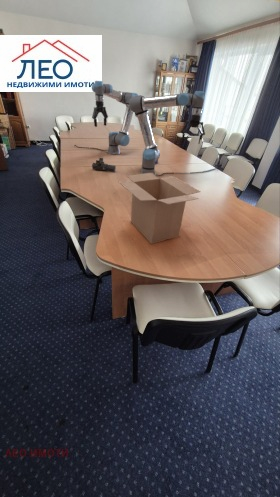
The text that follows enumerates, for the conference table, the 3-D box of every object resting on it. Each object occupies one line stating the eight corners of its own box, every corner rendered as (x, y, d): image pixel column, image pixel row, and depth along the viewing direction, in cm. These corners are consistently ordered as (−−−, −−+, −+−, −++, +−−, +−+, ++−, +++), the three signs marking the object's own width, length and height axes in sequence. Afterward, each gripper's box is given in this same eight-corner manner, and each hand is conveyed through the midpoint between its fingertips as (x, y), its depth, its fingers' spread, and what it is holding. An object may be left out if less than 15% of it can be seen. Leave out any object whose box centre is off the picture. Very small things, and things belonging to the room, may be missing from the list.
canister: (150, 163, 244) (151, 152, 237) (152, 161, 249) (153, 150, 242) (156, 164, 242) (157, 153, 235) (158, 162, 247) (159, 151, 240)
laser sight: (113, 173, 208) (113, 162, 203) (90, 170, 211) (89, 159, 205) (116, 170, 216) (116, 159, 210) (94, 167, 219) (93, 157, 213)
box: (200, 241, 124) (213, 195, 108) (145, 257, 109) (150, 207, 93) (159, 208, 154) (164, 169, 138) (112, 217, 139) (111, 174, 123)
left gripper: (93, 101, 201) (94, 127, 214) (111, 101, 218) (111, 125, 231) (87, 100, 204) (88, 126, 217) (105, 100, 221) (106, 124, 234)
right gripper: (211, 115, 180) (205, 143, 193) (180, 112, 183) (176, 140, 196) (212, 116, 174) (205, 145, 187) (180, 113, 177) (176, 142, 190)
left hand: (100, 126), depth 224 cm, fingers open, 13 cm apart
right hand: (190, 142), depth 191 cm, fingers open, 13 cm apart
